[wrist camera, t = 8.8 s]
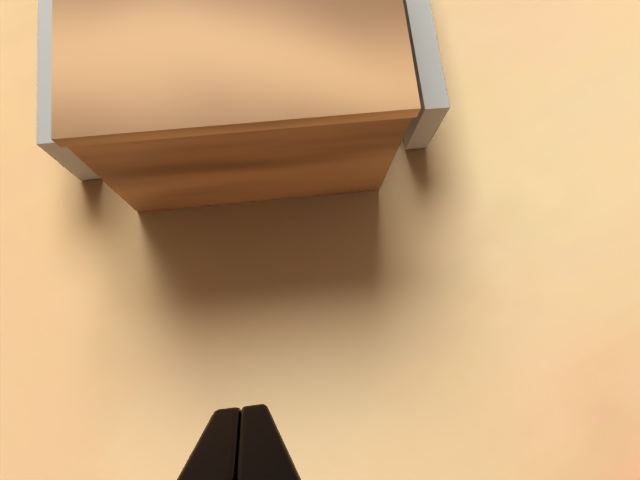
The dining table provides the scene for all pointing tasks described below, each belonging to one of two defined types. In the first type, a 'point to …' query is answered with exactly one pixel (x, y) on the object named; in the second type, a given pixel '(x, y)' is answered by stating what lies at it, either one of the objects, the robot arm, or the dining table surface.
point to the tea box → (232, 96)
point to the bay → (414, 137)
